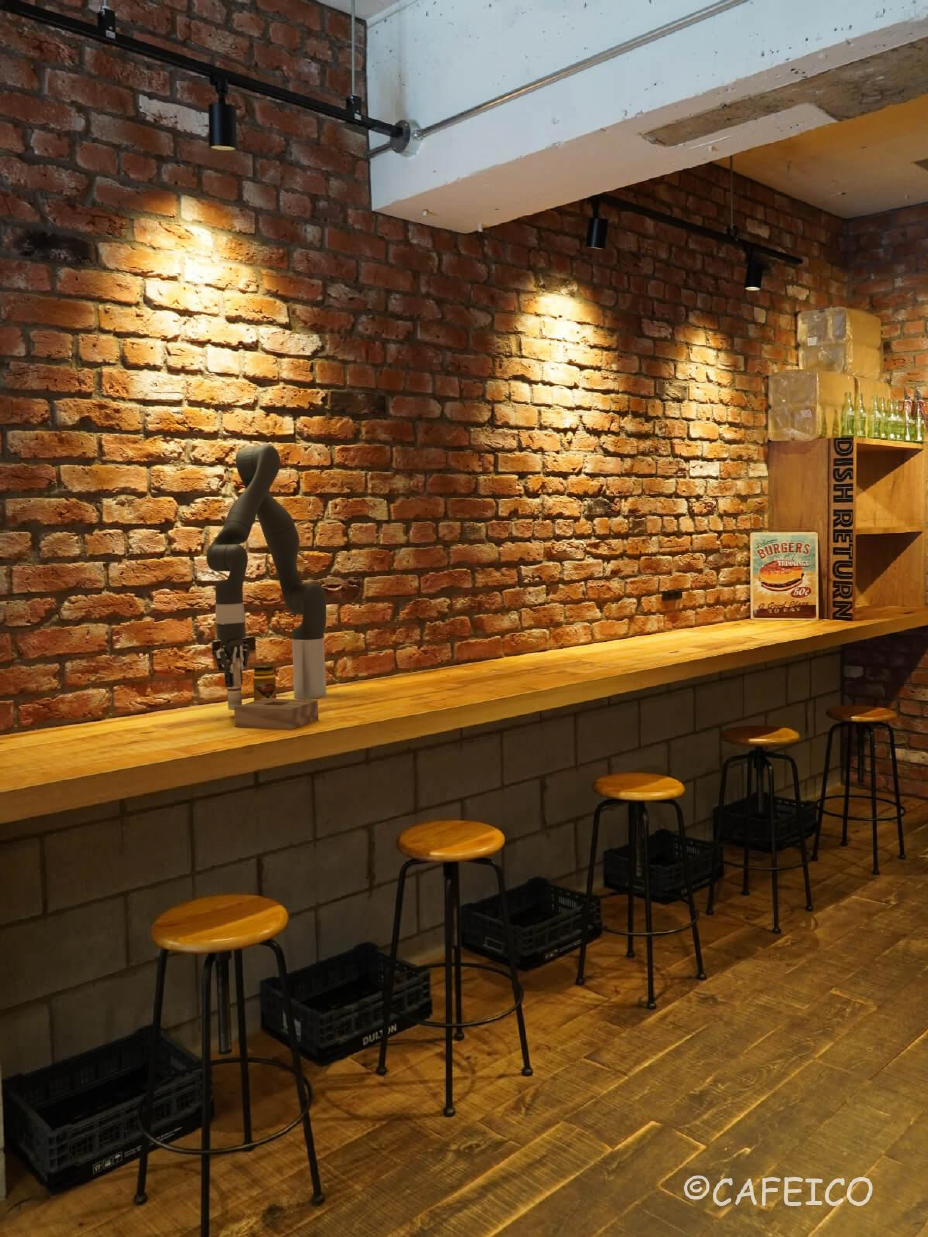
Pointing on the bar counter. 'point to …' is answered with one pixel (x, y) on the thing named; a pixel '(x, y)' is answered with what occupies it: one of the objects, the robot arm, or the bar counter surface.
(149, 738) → the bar counter surface
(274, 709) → the wooden block with hole
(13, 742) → the bar counter surface
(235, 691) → the peg
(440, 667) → the bar counter surface
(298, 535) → the robot arm
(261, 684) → the condiment
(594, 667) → the bar counter surface
